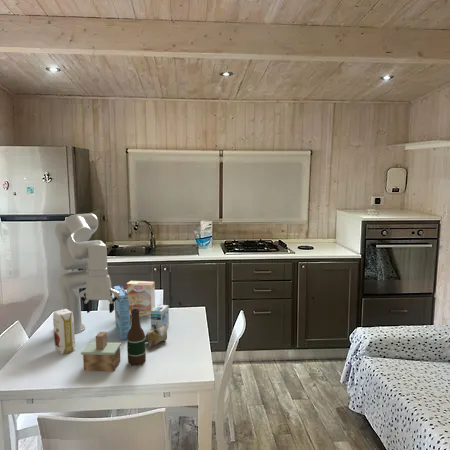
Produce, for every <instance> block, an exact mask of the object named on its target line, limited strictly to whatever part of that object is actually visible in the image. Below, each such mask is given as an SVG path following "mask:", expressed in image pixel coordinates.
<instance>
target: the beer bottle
mask: <svg viewBox="0 0 450 450" xmlns="http://www.w3.org/2000/svg"><path fill="white" fill-rule="evenodd" d="M139 312H140V311H139V309H133V310H131V313H132V315H131V316H130V317H131V318H130V330H129V332H128V334H127V339H126V347H127V348H126V349H127V363H128V364H129V365H130V366H132V367H138V366H142V365H144V363H146V361H147V357H146V356H147V353H146V351H147V350H146V343H145V336H146V334H145V331H144V329H143V328H142V327H141V320H140V319H141V318H140V316H139Z"/></svg>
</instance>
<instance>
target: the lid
mask: <svg viewBox="0 0 450 450" xmlns="http://www.w3.org/2000/svg"><path fill="white" fill-rule="evenodd" d="M107 334H108V333H107V331H99V332H98V333H97V334H96V335H95V341H94V342H89V343H88V344H86V346H85V347H84V349H83V350H82V351H81V353H80V355H82V356H83V355H115V353H116V352H117V350H118V349H119V347H120V348H121V346H122V342H108V340H107V339H108V337H107Z"/></svg>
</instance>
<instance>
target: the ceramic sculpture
mask: <svg viewBox="0 0 450 450" xmlns="http://www.w3.org/2000/svg"><path fill="white" fill-rule="evenodd" d="M167 327H168V326H166V325H165V326H163V327H161V328H158V327H154V328H153V329H152V330H151V329H150V330H148V331H147V332H146V334H145V344H146V343H147V344H148V346H147V347H148V348H155V347H156V346H157V345H158V344H160V343H161V342H166V341H167V339H168V328H167Z"/></svg>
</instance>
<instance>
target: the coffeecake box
mask: <svg viewBox="0 0 450 450" xmlns="http://www.w3.org/2000/svg"><path fill="white" fill-rule="evenodd" d="M155 290H156V288H155V281H145V280H130V281H128V282H126V292H127V294H128V295H129V314H130V315H132V313H131V310H133V309H139V311H140V312H139V317H143V316H151V310H152V309H153V308H154V307H155V306H156V298H155V297H156V295H155V294H156V293H155Z"/></svg>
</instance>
